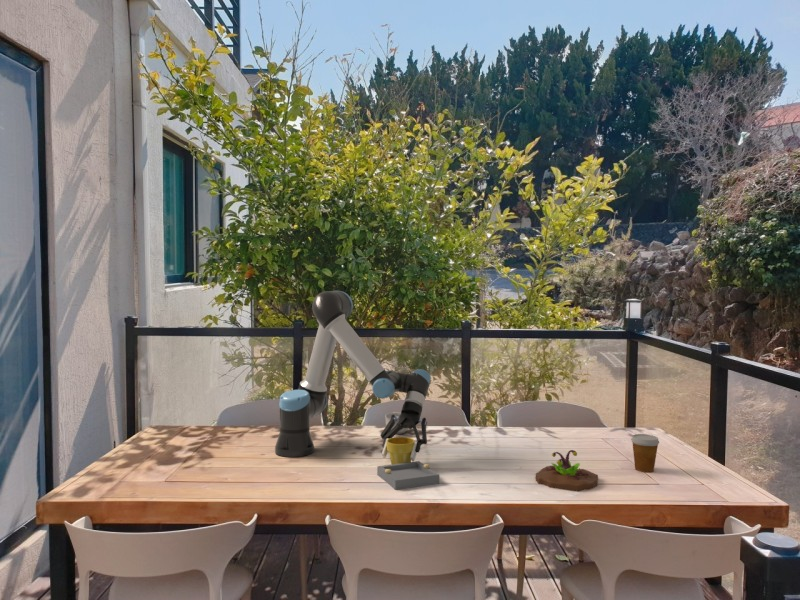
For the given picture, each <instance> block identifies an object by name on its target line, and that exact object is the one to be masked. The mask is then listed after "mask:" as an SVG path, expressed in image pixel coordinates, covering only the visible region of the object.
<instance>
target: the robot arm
mask: <svg viewBox="0 0 800 600" xmlns="http://www.w3.org/2000/svg"><path fill="white" fill-rule="evenodd" d="M353 302H354V301H353V300H352V298H351V297H350V295H349V294H348V293H346V292H344V291H341V290H332V291H331V290H329V291H328V290H326V291H321V292H320V293H318V294H317V295H315V297H314V298H313V301H312V305H311V306H312V307H311V309H312V312H313V315H314V317H315V318H316V321H317V323H318V329H317V332H316V336H315V340H314V343H313V347H312V350H311V354H310V359H309V362H308V366H307V369H306V373H305V377H304V379H303V380H301V381H300V382H299V385H298V388H297V389H291V390H287V391H285V392H283V393H282V394H281V395H280V396H279V403H278V404H279V405H278V406H279V434H278V437H277V438H276V439H277V440H276V443H275V446H274V454H276V455H277V456H281V457H286V458H287V457H288V458H296V457H297V458H298V457H305V456H308V455H312V453H314V451H315V445H314V441H313V438H312V434H311V432H310V431H311V430H310V428H311V427H310V419H313V418H314V417H317V416H320V414H321V413H323V411H324V410H325V409H326V407H327V406H328V395H327V392H328V388H327V386H326V382H327V378H328V375H329V370H330V367H331V363H332V359H333V355H334V353H335V348H336V344H337V343H338V344H339V345H340V347H341V348H342V349H343V350H344V352H345V353H346V354H347V355H348V357H349V358H350V359H351V361H352V362H353V363H354V364H355V366H356V367H357V368H358V369H359V371H360V372H361V373H362V374H363V376H364V377H365V379H367V382H369V384H370V385H371V386H372V393H373V395H374V396H376V397H377V398H378V399H382V400H383V399H387V398H388V399H389V398H390V397H392V396H393V395H394V394H396V393H397V392H398V393H405V394H406V395H405V398H404V401H403V405H402V407H401V414H400V415H399V416H395V415H392V416H391V420H390V421H389V423H388V424H387V426H386V425H385V427H384V428H383V430H382V432H381V433H380V434H379V435H380V438H381V440H383V442H382V444H381V446H382V451H381V455H382V457H383V458H384V459H386V458H387V454H388V453H389V451H388V450H387V440H388V439H390V438H394V437H395V435H397V434H396V433H397V432H398V431H399V430H402V429H403V428H409V429H410V430H411V429H412V431H413V433H414V435H415V439H416V440H415V443H414V446H413V450H412V453H411V457H410V458H411V462H415V460H416V456H417V453H420V450H421V447H422V446H423V445H427V443H428V440H427V439H428V438H427V424H428V421H427V419H426V417H423V418H421V416H422V412H423V408H424V405H425V401H426V397H427V394H428V390H429V387H430V382H431V379H432V377H431V374H430V373H429V371H428V370H427V371H426V370H425V369H423V368H422V369H421V368H418V369H415V370H413V372H412V373H405V372H397V371H392V370H386V369H385V368H384V367H383V365H382V364H381V362H379V360H378V359H377V357H376V356H375V355H374V354H373V352H372V351H371V350H370V349H369V347H368V346H367V345H366V344H365V342H364V341H363V339H362V338H360V336H359V335H358V334H357V332H356V331H355V330H354V328H353V327H352V326H351V324H350V323H348V320H347V318H349V316H351V314H352V312H353V308H354V303H353ZM397 420H399V422H398V423H397V425H396V426H395V427H393V426H394V424H395V422H397ZM419 423H420V425H421V426H420V427H421V437H420V434H419V431H418V428H417V425H419ZM409 429H408V430H409Z"/></svg>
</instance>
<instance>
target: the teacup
mask: <svg viewBox="0 0 800 600" xmlns="http://www.w3.org/2000/svg"><path fill="white" fill-rule="evenodd" d="M400 414H401V412H397V411H393V412H389V413H386V414H385V416H384V417H385V427H386V426H387V424H388V423H389V421H390V420H391V416H392V415H395V416H399V415H400ZM398 422H399V420H397V422H395V424H394V426H393V427H395V426H396V425H397V423H398ZM408 430H409V428H403V429H402V430H399V431H398V432H397V433H396V434H395V435H401V434H404V433H406V432H407V431H408Z"/></svg>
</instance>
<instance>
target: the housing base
mask: <svg viewBox="0 0 800 600" xmlns="http://www.w3.org/2000/svg"><path fill="white" fill-rule="evenodd" d="M376 467H377V469H376V470H377V472H376V473H377V474H376V475H377V476H378V477H379V478H380V479H382V480H383V481H384V482H385V483H387V484H388V485H389V486H390V487H392V488H393V490H402V489H408V488H409V489H410V488H417V487H423V486H430V485H436V484H437V485H438V484H440V473H438V472H436V471H435V470H433V469H431V468H430V464H429V463H425V464H424V463H422V462H421V461H420V460H417V461H415V460H414V461H411V462H407V463H399V464H391V463H390V464H385V465H377V466H376Z"/></svg>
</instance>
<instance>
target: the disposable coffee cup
mask: <svg viewBox="0 0 800 600" xmlns="http://www.w3.org/2000/svg"><path fill="white" fill-rule="evenodd" d="M630 440H631V442H632V449H633V450H632V451H633V460H634V469H635V470H636V471H639V472H641V473H653V472H654V471H655V465H656V458H657V453H658V445H659V444H660V440H659V438H658V436H654V435H652V434H646V433H645V434H644V433H635V434H633V435H632V437H631V438H630Z"/></svg>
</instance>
